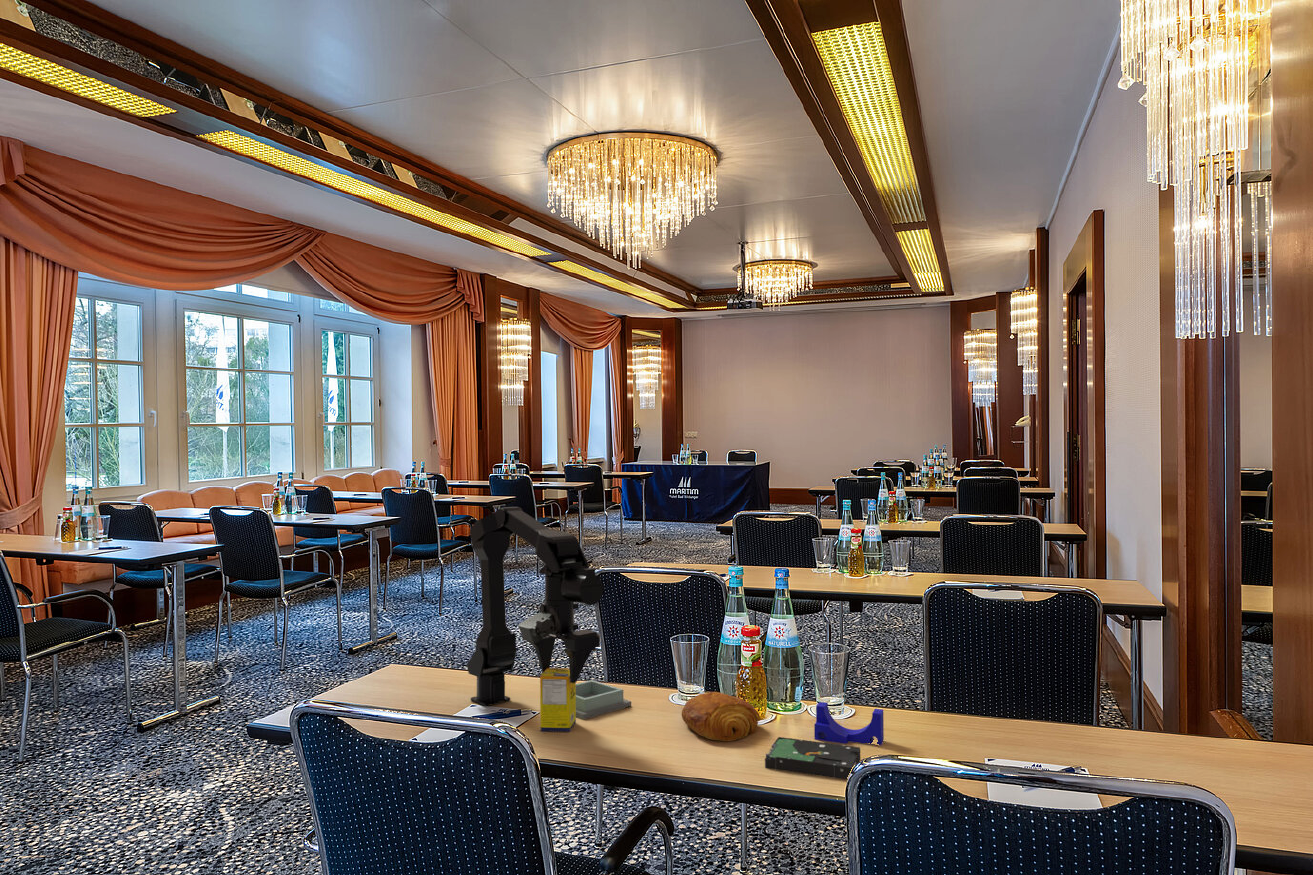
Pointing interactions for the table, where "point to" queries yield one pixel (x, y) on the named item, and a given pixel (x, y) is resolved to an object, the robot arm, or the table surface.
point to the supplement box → (557, 700)
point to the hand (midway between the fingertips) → (559, 677)
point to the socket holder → (598, 699)
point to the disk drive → (812, 757)
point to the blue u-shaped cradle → (834, 732)
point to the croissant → (720, 716)
